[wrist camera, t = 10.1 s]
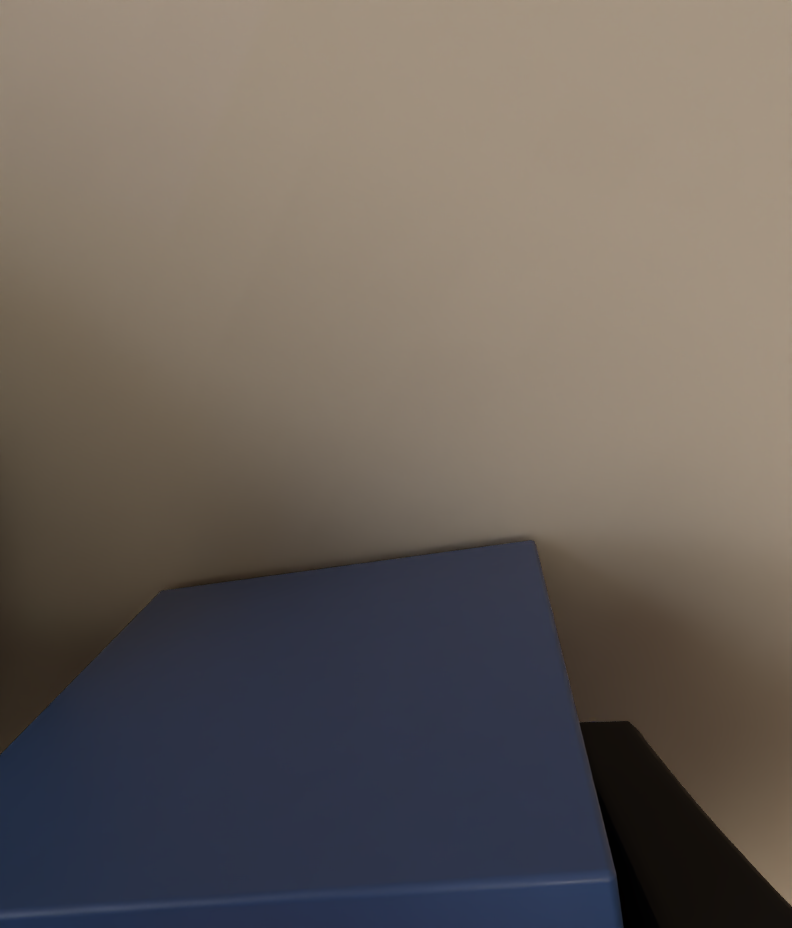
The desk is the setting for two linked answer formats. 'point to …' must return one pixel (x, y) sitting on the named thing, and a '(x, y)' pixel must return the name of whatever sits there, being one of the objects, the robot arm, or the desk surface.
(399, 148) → the desk surface
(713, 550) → the desk surface
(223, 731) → the block
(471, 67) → the desk surface
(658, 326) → the desk surface
